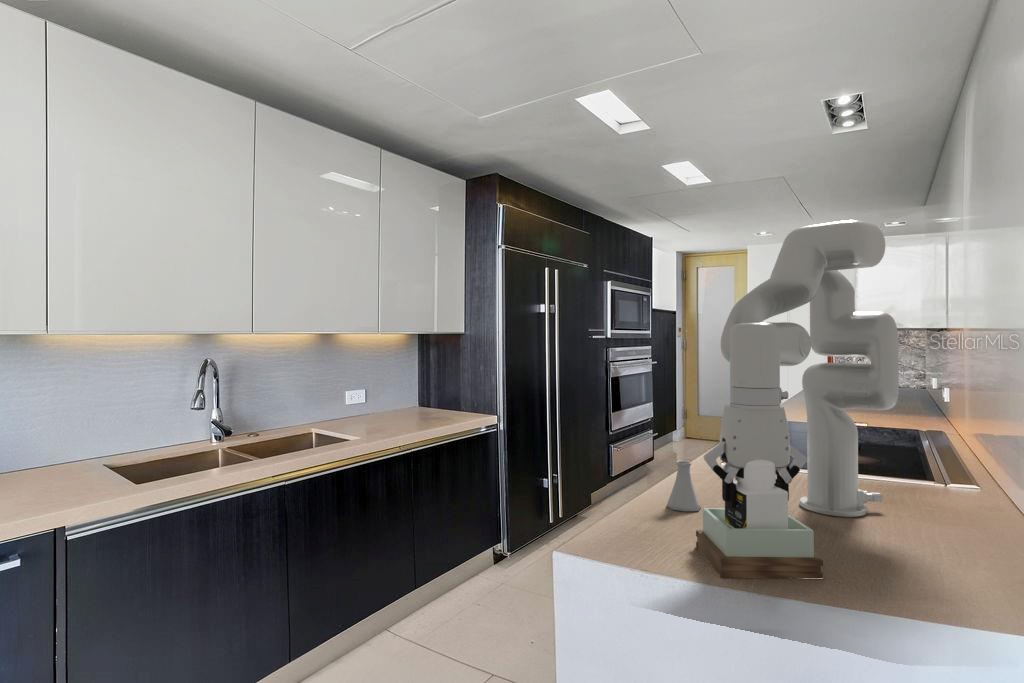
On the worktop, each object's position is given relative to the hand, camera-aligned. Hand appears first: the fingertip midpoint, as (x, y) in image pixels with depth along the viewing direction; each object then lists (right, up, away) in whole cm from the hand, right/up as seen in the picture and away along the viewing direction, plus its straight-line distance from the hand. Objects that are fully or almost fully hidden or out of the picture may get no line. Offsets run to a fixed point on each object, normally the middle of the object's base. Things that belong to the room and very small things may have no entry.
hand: (755, 505), depth 89 cm
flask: (-2, -10, +30) cm, 31 cm away
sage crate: (0, -6, 0) cm, 6 cm away
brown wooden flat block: (0, -9, 0) cm, 9 cm away
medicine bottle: (0, -4, 0) cm, 4 cm away
